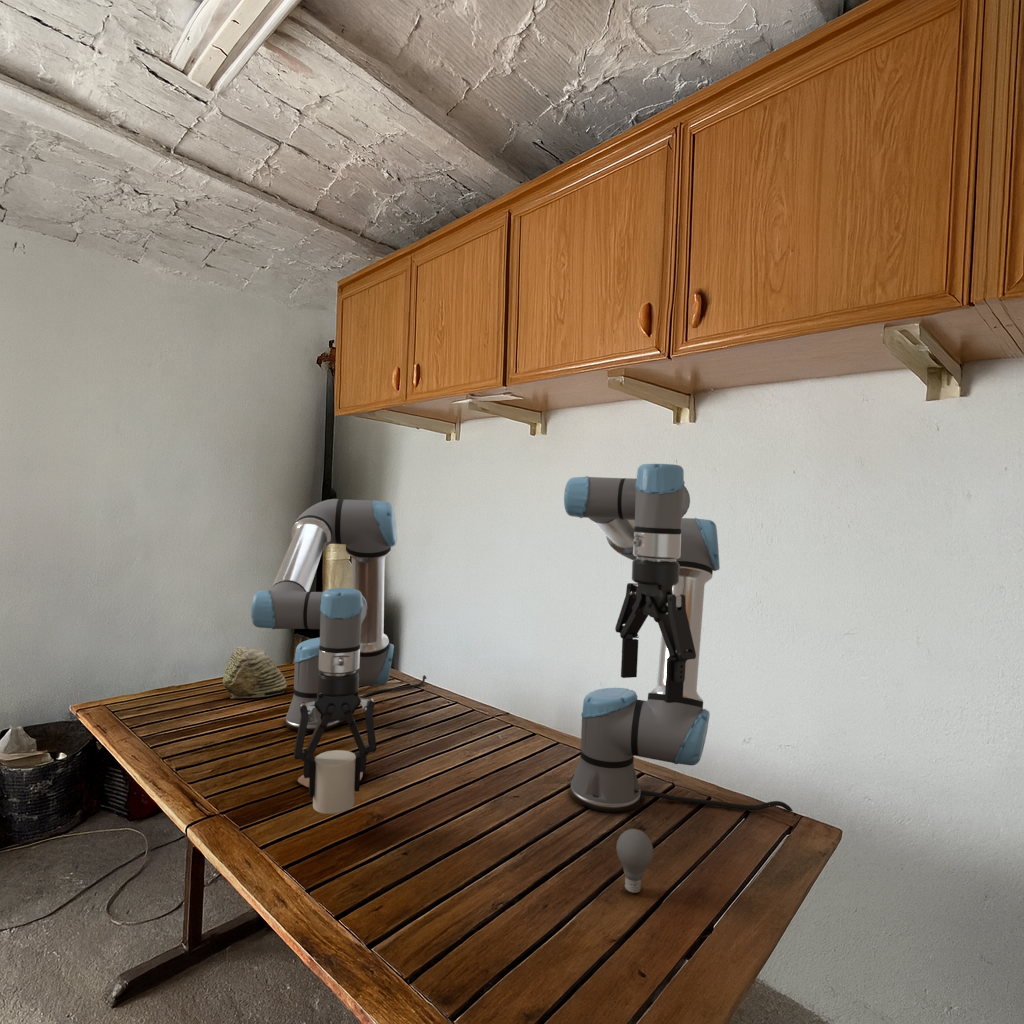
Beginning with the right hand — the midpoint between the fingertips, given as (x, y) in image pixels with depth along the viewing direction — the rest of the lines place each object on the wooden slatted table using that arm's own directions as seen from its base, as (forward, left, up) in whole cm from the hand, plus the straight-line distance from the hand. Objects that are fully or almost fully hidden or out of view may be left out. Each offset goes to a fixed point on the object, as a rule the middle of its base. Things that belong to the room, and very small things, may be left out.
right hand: (649, 688), depth 103 cm
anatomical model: (+46, -56, -35) cm, 80 cm away
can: (+47, -34, -29) cm, 64 cm away
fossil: (+65, -123, -35) cm, 143 cm away
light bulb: (0, -2, -35) cm, 35 cm away
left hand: (+47, -34, -27) cm, 63 cm away
